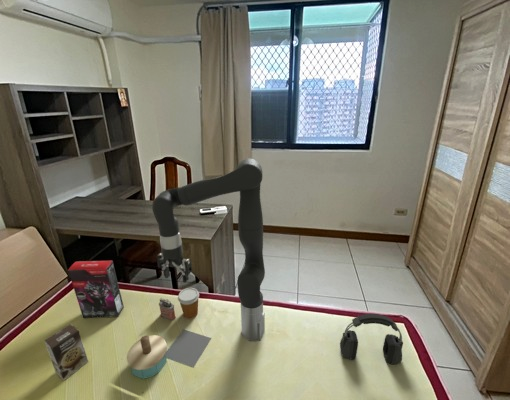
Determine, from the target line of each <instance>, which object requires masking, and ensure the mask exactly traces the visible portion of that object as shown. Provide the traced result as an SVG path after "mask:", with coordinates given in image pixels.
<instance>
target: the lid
mask: <svg viewBox="0 0 510 400" xmlns="http://www.w3.org/2000/svg"><path fill="white" fill-rule="evenodd" d="M167 350H168V346H167V342H166V340H165V338H164V337H162V336H161V335H160V336H159V335H157V334H156V335H155V334H154V335H143V336H141V338H140V339H138V340H137V341H136V342H135V343H133V344H132V345H131V346H130V348H129V350H128V352H127V355H126V362H127V364H128V366H129V367H130V369H131V368H133V369H136V370H145V369H148V368H151V367H153V366H155V365H156V364H157V363H159V362H160V361H161V360H162V359H163V357H164V356H165V354H166V351H167Z"/></svg>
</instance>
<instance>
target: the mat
mask: <svg viewBox="0 0 510 400" xmlns="http://www.w3.org/2000/svg"><path fill="white" fill-rule="evenodd" d="M211 340H212V337H209V336H207V335H203V334H200V333H197V332H193V331H191V330H188V329H184V328H183V329H182V330H181V331H180V333H179V335H177V337H176V338H175V339H174V341H173V342H172V343H171V344H170V346H169V348H167V351H166V354H165V355H166V359H168V360H171V361H174V362H177V363H180V364H183V365H185V366H188V367H191V368H195V366H196V364H197V363H198V362H199V359H200V358H201V356H202V355H203V353H204V352H205V350H206V348H207V347H208V345H209V343H210V341H211Z"/></svg>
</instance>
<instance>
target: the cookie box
mask: <svg viewBox="0 0 510 400" xmlns="http://www.w3.org/2000/svg"><path fill="white" fill-rule="evenodd" d="M82 340H83V339H82V337H81V334H80V331H79V329H77V328H76V327H74V325H73V324H71V323H69V324H68V325H67V326H64V327H63V328H62V329H60V330H58V331H57V332H56V333H54V334H52V335H50V336H49V337H47V338H46V339H44V340H43V341H44V343H45V344H44V345H45V346H46V347H45V348H46V350H47V352H48V354H49V357H50V361H51V362H52V366H53V369H54V372H55V373H56V375H57V376H58V377H60V379H61V380H63V381H65V380H66V379H68V378H69V377H70V376H72V375H73V374H74V373H76V372H77V371H78V370H79V369H81V368H82V367H84V366H85V365H86V364H88V363H89V359H88V356H87V353H86V349H85V347H84V343H83V341H82Z"/></svg>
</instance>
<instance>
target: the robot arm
mask: <svg viewBox="0 0 510 400" xmlns="http://www.w3.org/2000/svg"><path fill="white" fill-rule="evenodd" d="M262 180H263V168H262V166H261V164H260V163H259V162H258V161H257V160H256V159H254V158H249V157H248V158H245V159H243V160H242V161H240V162H239V163H238V165H237V166H236V169H234V170H232V171H230V172H229V173H227V174H224V175H221V176H218V177H215V178H214V177H213V178H207V179H202V180H197V181H194V182H191V183H188V184H186V185H183V186H181V187H174V188H170V189H166V190H164V191H161V192H160V193H159V194H158V195H157V196H156V197H155V198H154V200H153V202H152V205H151V206H152V212H153V216H154V218H155V220H156V223H157V224H158V230H159V243H160V248H161V252H160V253H158V254H157V255H156V260H157V267H158V269H161V270H162V272H163V276H164V278H165V279H168V278H170V276H171V272H170V268H174V269H176V270H177V271H178V272H180V273H181V274H182V275H181V277H182V282H183V284H185V283H186V282H188V280H189V279H190V278H189V275H190V274H191V273H192V272H193V266H192V261H191V258H189V257H187V258H184V257H183V253H184V251H183V242H182V236H181V233H180V223H179V219H178V218H177V217H176V216H175V214H174V209H175V208H176V207H179V206H185V207H186V206H192V205H194V204H198V203H201V202H203V201H206V200H209V199H212V198H215V197H218V196H219V197H220V196H223V195H228V194H231V193H237V192H239V206H238V216H237V218H238V219H237V226H238V227H237V228H238V239H239V242H240V244H241V246H242V247H243V250H244V265H243V267H242V270H241V271H240V272H239V273H238V277H237V279H236V281H237V285H236V286H237V293H238V294H237V295H238V298H239V300H240V318H241V320H240V323H241V334H242V338H244V339H246V341H247V340H248V341H249V342H255V341H260V342H261V340H262V338H263V335H264V333H265V328H266V327H265V326H266V324H265V323H266V321H265V316H266V315H265V312H264V294H263V293H262V291H261V285H262V283H263V282H264V279H265V276H266V275H265V274H266V270H265V264H264V263H265V261H264V256H263V255H264V253H263V251H264V219H263V217H264V216H263V209H262V208H263V207H262V202H261V184H262ZM180 266H181V267H180ZM169 267H170V268H169Z"/></svg>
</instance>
